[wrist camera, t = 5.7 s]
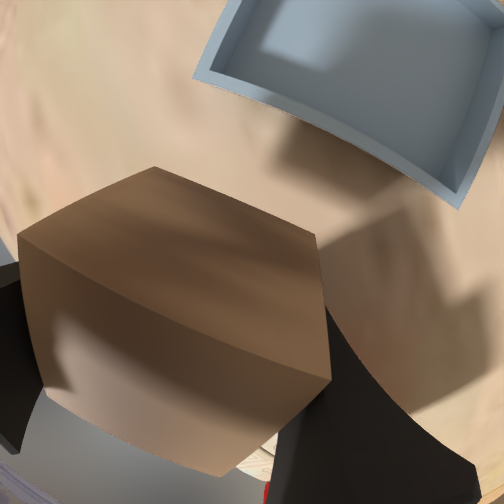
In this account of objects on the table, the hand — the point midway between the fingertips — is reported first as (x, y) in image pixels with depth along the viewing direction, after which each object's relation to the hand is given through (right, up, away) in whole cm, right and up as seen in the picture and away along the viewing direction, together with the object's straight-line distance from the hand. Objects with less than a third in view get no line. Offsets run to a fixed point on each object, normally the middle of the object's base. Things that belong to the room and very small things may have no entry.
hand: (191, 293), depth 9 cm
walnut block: (0, +1, +1) cm, 2 cm away
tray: (+9, +13, +2) cm, 15 cm away
